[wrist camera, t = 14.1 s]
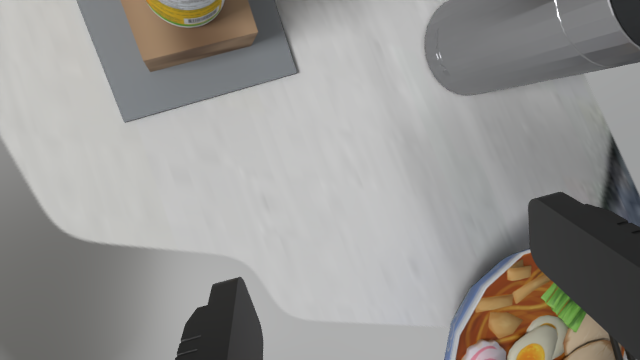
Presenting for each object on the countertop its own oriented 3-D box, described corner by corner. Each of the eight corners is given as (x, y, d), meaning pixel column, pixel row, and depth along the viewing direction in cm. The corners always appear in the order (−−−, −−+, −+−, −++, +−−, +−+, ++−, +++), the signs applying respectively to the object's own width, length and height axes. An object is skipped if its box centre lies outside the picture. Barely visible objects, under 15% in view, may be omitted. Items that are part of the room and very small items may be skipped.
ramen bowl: (365, 278, 37) (409, 312, 29) (548, 177, 43) (627, 184, 35) (449, 484, 42) (507, 561, 34) (605, 370, 47) (685, 414, 39)
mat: (249, -75, 32) (250, -78, 31) (295, 73, 34) (296, 72, 33) (61, -41, 28) (59, -44, 28) (125, 122, 30) (124, 122, 30)
